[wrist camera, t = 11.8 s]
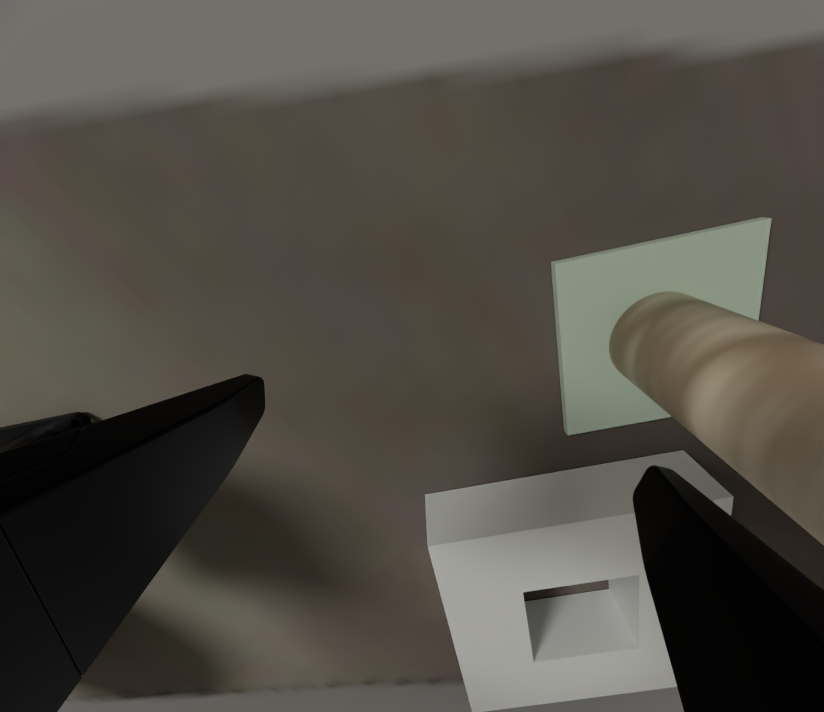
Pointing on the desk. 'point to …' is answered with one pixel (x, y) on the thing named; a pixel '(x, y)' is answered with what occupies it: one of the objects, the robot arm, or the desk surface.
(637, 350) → the wooden peg
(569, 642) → the pocket block
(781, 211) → the desk surface
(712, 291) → the green pad
